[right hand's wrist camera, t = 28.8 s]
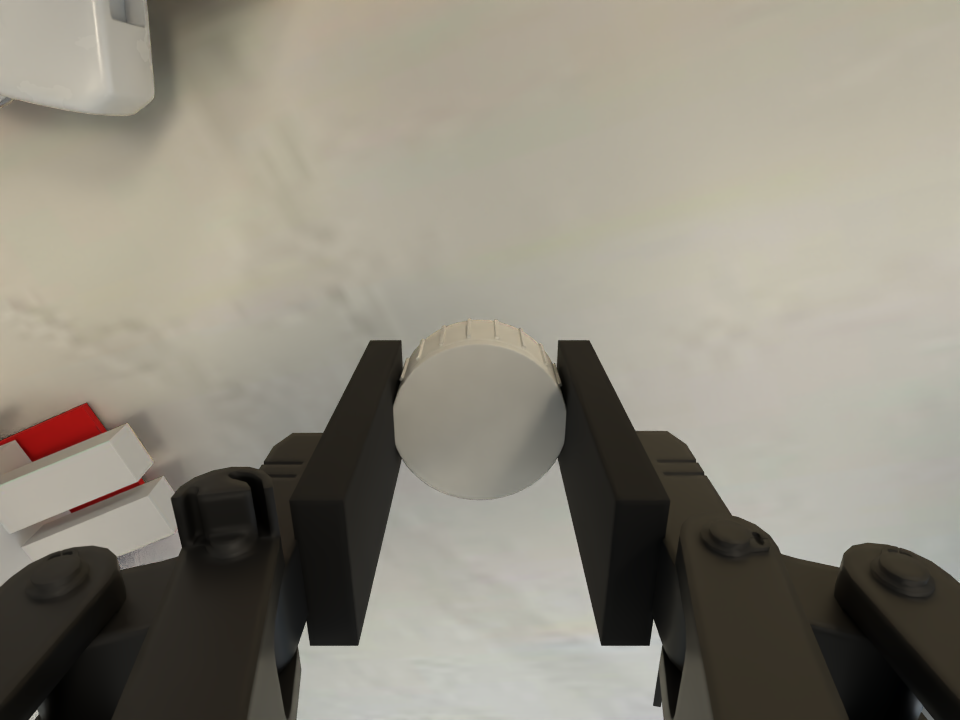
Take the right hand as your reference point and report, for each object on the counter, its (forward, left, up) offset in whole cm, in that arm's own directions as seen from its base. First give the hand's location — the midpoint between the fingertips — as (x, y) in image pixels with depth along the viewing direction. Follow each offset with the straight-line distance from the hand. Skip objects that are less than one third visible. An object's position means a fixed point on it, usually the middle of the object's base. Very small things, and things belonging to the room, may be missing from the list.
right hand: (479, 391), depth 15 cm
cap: (0, 0, +1) cm, 1 cm away
